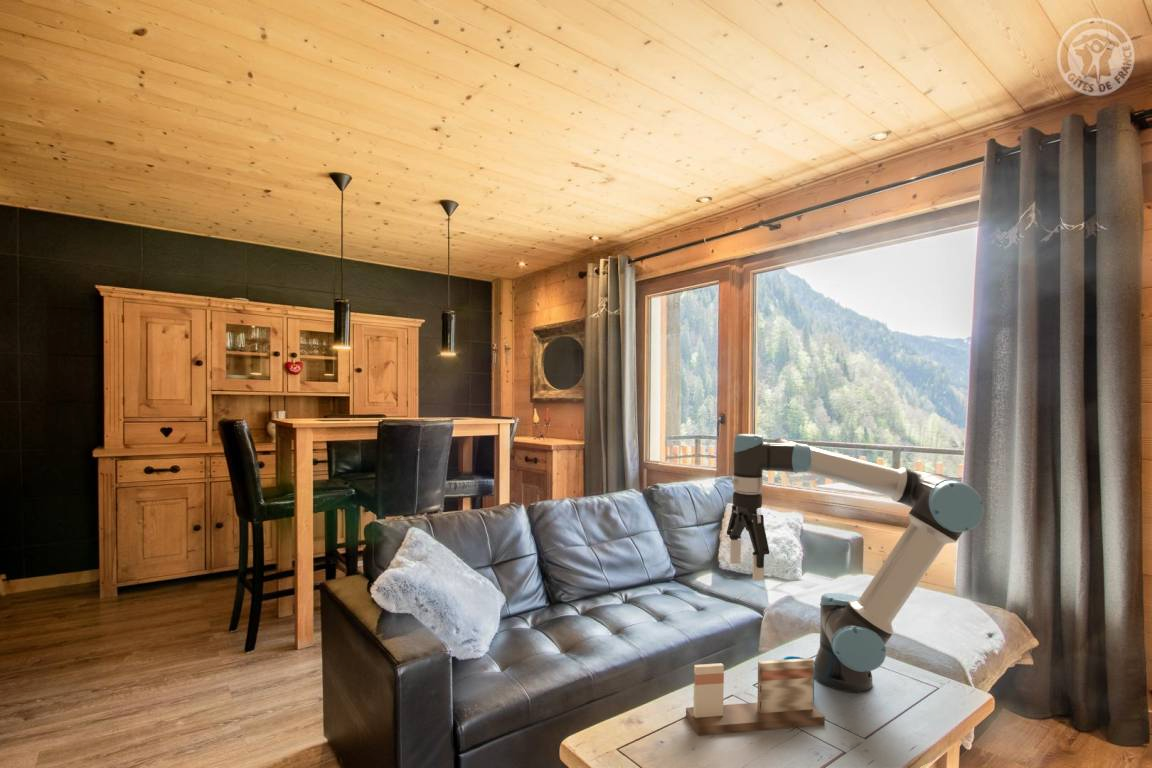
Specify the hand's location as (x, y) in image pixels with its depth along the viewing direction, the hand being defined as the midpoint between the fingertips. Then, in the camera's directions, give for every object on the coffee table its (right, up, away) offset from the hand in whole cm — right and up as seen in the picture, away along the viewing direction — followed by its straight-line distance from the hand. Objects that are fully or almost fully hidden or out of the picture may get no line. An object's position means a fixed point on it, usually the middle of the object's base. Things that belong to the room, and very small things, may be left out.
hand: (746, 571), depth 155 cm
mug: (+13, -32, 0) cm, 35 cm away
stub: (-14, -29, -16) cm, 36 cm away
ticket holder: (-2, -32, -15) cm, 35 cm away
